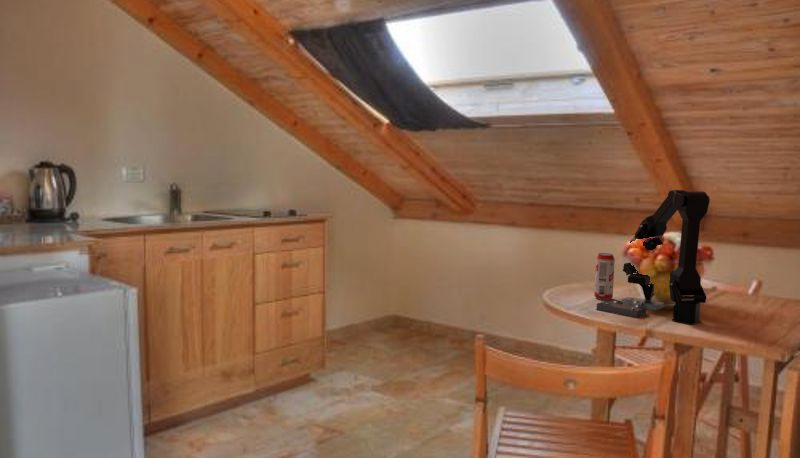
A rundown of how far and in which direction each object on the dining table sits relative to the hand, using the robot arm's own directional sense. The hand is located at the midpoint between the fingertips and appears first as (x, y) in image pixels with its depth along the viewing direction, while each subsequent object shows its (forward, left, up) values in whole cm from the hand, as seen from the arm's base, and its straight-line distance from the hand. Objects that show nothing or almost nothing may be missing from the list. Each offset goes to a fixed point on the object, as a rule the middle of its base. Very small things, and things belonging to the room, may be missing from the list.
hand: (647, 301), depth 217 cm
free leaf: (0, +5, -1) cm, 5 cm away
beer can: (+15, +3, -1) cm, 15 cm away
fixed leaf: (0, +17, -1) cm, 17 cm away
